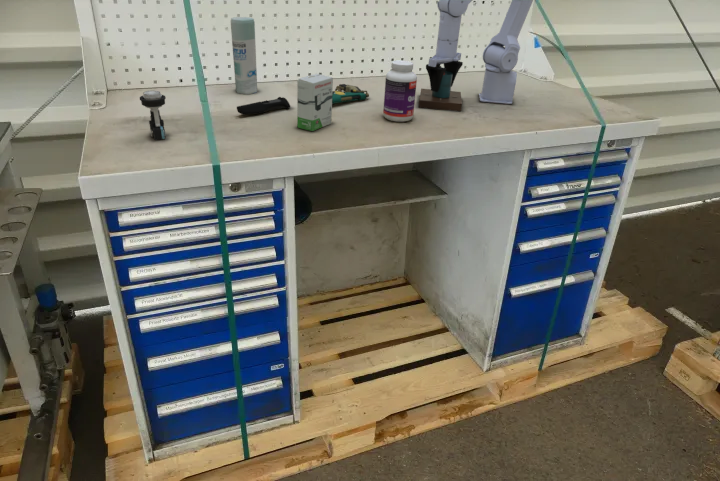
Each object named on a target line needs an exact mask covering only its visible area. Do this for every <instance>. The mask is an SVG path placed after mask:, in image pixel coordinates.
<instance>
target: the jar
mask: <svg viewBox="0 0 720 481" xmlns="http://www.w3.org/2000/svg"><path fill="white" fill-rule="evenodd" d="M452 76H453V73H451V72H448V71H445V72H444V74H443V77H442V80H441V84H440V88H439V91H438V92H435V91H432V96H434V97H437V98H448V97H450V91H452V87H451V83H452Z"/></svg>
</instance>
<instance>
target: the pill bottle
mask: <svg viewBox="0 0 720 481" xmlns="http://www.w3.org/2000/svg"><path fill="white" fill-rule="evenodd" d="M390 68H391V70H388V72H386V74H385V80H384V83H385V84H384V98H383V109H382V115H383V117H384V118H385V119H386V120H388V121H392V122H397V123H399V122H400V123H401V122H408V121H411V120H412V119H413V117H414V114H415V112H414V111H415V102H416V93H417V92H416V90H417V83H418V82H417V81H418V76H417V74H416V73H415V72H414V71H413V69H414V62H413V61H409V60H401V59H400V60H397V59H396V60H392V61H391V66H390Z"/></svg>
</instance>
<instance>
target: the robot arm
mask: <svg viewBox="0 0 720 481" xmlns="http://www.w3.org/2000/svg"><path fill="white" fill-rule="evenodd" d="M472 1H473V0H438V1H437V4H436V5H437V9H438V11H439V22H438V23H439V24H438V30H437V31H438V32H437V41H436V50H435V54H434V55H433V56H432V57H430V58H429V59H428V63H427V64H425V69H426V71H427V74H428V75H427V76H428V79H429V84H430V89H431V91H435V92H438V91H439V88H440V84H441V80H442V77H443V74H444V72H445V71H448V72H451V73H453V76H452V83H451V88H452V87H453V85H454V83H455V80H456V77H457V75H458V73H459V71H460V69H461V68H462V67H463V66H464V65H463V64H464V62H462V61H461V59H462V53H461V52H457V51H458V44H459V36H460V28H461V24H462V16H463V15H464V14H465V13H466V12H467V10H468V7H469V5H470V3H472ZM533 2H534V0H511V1H510V4H509V7H508V10H507V12H506V14H505V17H504V19H503V22H502V24H501V27H500V30H499V32H498V33H497V34H496V35H494V36H492V38H491V39H490V41H489V43H488V44H487V45H486V47H485V48H484V50H483V52H482V61H483V63H484V68H485V70H484V76H483V82H482V87H481V92H479V93H478V99H479V102H482V103H492V104H493V103H495V104H506V105H513V100H514V95H515V90H516V84H517V77H518V73H517V71H514V70H513V69H514V68H516V66H517V64H518V61H519V53H520V50H521V45H520V43H519V41H518V40H519V39H518V38H519V36H520V33H521V32H522V28H523V26H524V24H525V21H526V19H527V16H528V13H529V11H530V10H531V6H532V4H533ZM441 65H443V67H442V66H441Z"/></svg>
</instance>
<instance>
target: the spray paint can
mask: <svg viewBox="0 0 720 481" xmlns="http://www.w3.org/2000/svg"><path fill="white" fill-rule="evenodd" d="M230 34H231V46H232V57H233V58H232V59H233V69H234V70H233V71H234V81H235V83H234V84H235V91H236V93H238V94H242V95H253V94H256V93H258V74H257V72H258V70H257V69H258V68H257V50H256V49H257V48H256V45H257V44H256V24H255V19H254V18H253V17H247V16H234V17H231V18H230Z"/></svg>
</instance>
